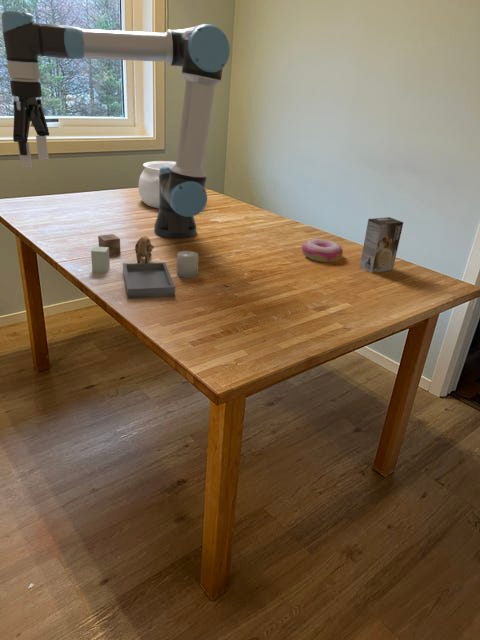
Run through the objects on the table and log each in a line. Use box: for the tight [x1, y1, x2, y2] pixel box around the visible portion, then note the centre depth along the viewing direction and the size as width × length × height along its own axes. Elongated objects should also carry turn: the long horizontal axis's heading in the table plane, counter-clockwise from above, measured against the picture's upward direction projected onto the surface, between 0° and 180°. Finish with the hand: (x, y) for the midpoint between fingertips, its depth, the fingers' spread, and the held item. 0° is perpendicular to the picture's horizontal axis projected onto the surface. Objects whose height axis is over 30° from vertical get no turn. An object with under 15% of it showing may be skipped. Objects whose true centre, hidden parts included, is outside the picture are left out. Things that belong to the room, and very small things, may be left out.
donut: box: [301, 238, 344, 263], centre depth 161 cm, size 14×13×5 cm
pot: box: [138, 160, 176, 209], centre depth 206 cm, size 29×26×16 cm
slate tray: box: [122, 261, 176, 299], centre depth 130 cm, size 12×18×3 cm, turn 16°
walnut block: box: [97, 233, 122, 256], centre depth 149 cm, size 5×5×5 cm
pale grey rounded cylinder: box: [176, 250, 199, 279], centre depth 138 cm, size 6×6×6 cm
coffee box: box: [359, 216, 404, 274], centre depth 152 cm, size 9×6×16 cm
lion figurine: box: [134, 235, 155, 263], centre depth 144 cm, size 15×5×9 cm, turn 13°
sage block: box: [90, 245, 111, 273], centre depth 137 cm, size 4×4×6 cm
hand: (35, 163), depth 137 cm, fingers open, 13 cm apart
